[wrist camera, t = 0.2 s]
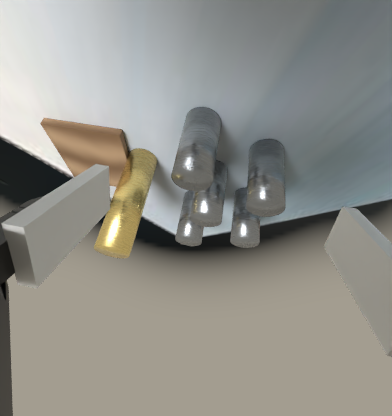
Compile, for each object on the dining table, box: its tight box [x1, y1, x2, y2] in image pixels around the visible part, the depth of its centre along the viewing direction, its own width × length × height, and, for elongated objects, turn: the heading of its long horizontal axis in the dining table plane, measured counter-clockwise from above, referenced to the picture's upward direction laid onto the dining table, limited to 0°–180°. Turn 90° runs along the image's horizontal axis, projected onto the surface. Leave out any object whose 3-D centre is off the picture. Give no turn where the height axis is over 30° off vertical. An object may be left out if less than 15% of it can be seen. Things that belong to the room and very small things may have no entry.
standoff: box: [94, 149, 157, 258], centre depth 32 cm, size 4×4×14 cm
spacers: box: [171, 107, 285, 248], centre depth 33 cm, size 20×12×8 cm, turn 177°
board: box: [40, 118, 129, 187], centre depth 36 cm, size 12×10×1 cm
